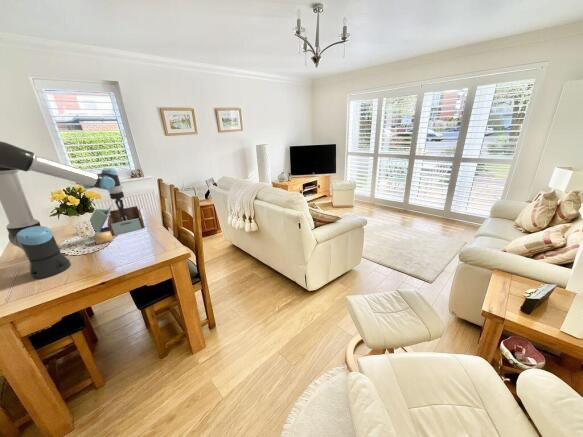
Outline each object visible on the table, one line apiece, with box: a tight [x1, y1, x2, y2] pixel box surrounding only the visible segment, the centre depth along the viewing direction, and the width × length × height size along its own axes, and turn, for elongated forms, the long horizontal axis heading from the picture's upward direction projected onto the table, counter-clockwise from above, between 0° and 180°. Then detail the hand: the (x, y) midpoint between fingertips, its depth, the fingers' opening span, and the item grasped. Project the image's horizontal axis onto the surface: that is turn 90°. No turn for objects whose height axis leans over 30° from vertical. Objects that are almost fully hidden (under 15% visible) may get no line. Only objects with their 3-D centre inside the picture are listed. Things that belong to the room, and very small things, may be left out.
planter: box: [89, 205, 113, 233], centre depth 171 cm, size 16×8×20 cm
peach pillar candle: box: [93, 230, 114, 245], centre depth 152 cm, size 8×7×7 cm
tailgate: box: [111, 218, 143, 236], centre depth 163 cm, size 16×1×8 cm, turn 124°
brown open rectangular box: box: [107, 205, 146, 236], centre depth 172 cm, size 20×22×12 cm
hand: (126, 224), depth 166 cm, fingers closed
